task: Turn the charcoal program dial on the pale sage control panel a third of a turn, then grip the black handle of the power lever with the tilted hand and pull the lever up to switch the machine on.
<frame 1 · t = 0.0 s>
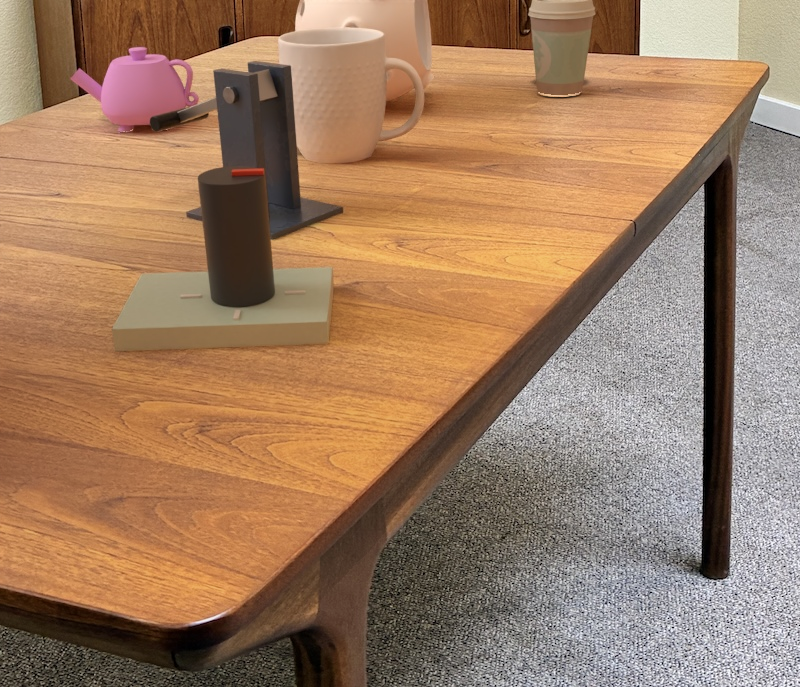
program knob: (237, 234, 74), point 7 cm above the table, hinge at 0.0°
power lever: (217, 102, 99), point 10 cm above the table, hinge at -20.0°
control panel: (232, 335, 77), on the table
teapot: (140, 127, 136), on the table
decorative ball: (368, 108, 141), on the table
coffee cup: (559, 94, 145), on the table
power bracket: (265, 221, 100), on the table
mug: (348, 161, 118), on the table
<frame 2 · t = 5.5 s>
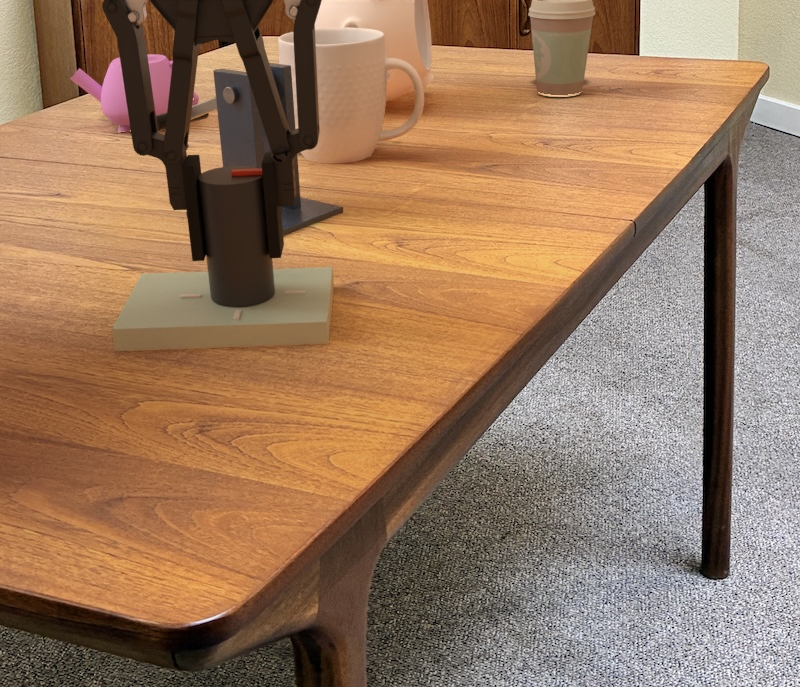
hand: (238, 251, 75), 6 cm above the table, tool pointing down, fingers closed on program knob, 4 cm apart
program knob: (237, 234, 74), point 7 cm above the table, hinge at 0.0°, touching gripper
everything else where it was.
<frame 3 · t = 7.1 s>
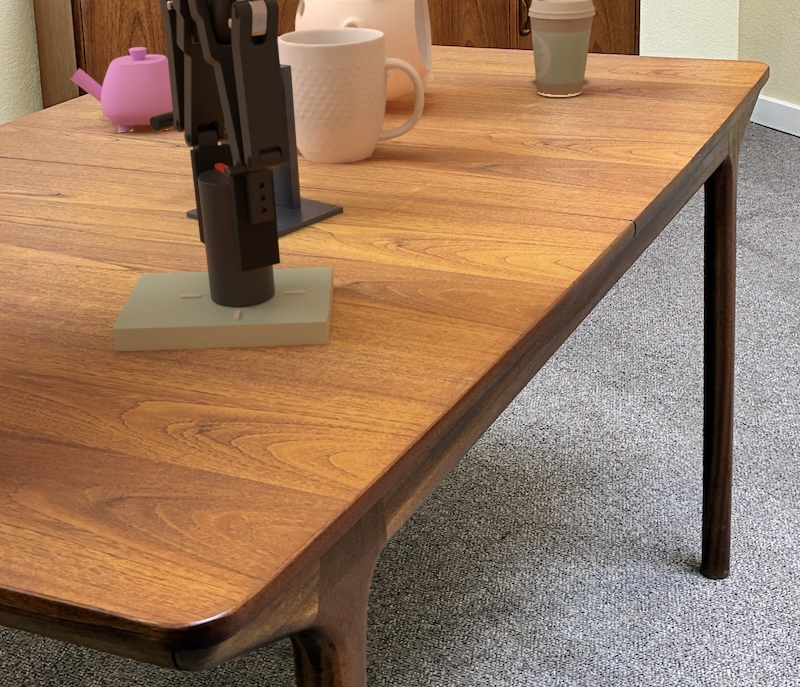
hand: (239, 251, 75), 6 cm above the table, tool pointing down, fingers open, 6 cm apart
program knob: (237, 234, 74), point 7 cm above the table, hinge at 120.1°
everything else where it was.
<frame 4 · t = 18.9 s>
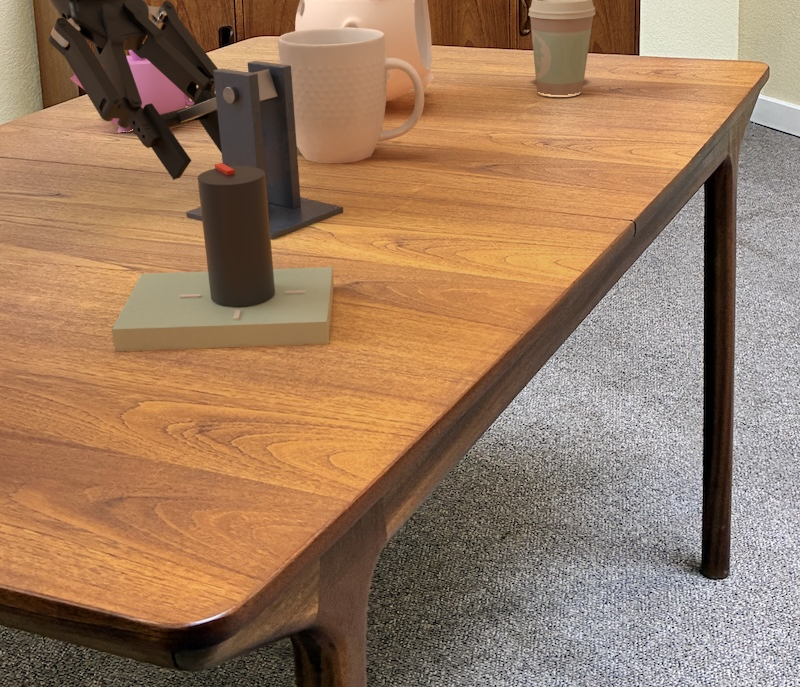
hand: (210, 161, 102), 5 cm above the table, tool tilted 45°, fingers closed on power lever, 6 cm apart
power lever: (217, 102, 99), point 10 cm above the table, hinge at -20.0°, touching gripper
everything else where it was.
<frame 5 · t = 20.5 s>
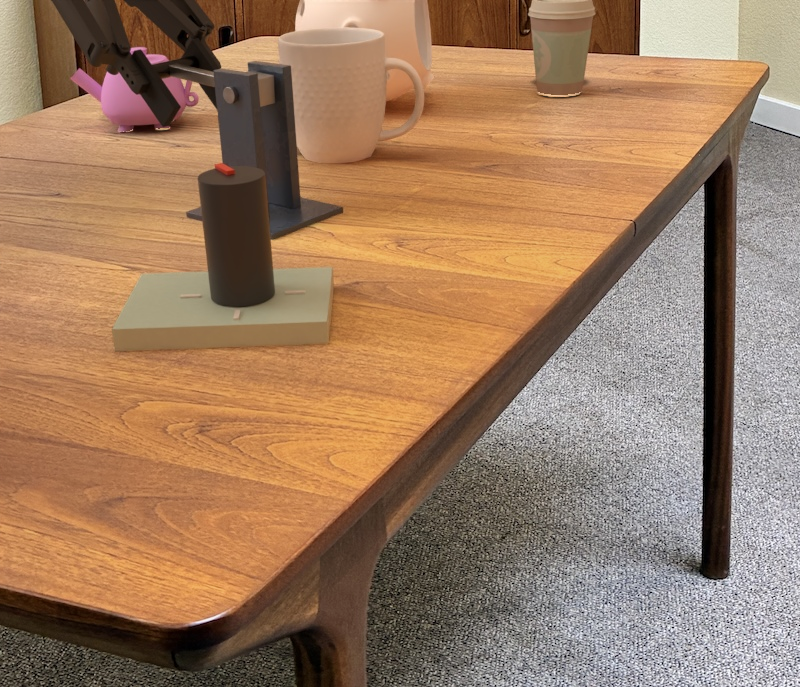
hand: (200, 109, 101), 9 cm above the table, tool tilted 45°, fingers closed on power lever, 6 cm apart
power lever: (213, 79, 98), point 12 cm above the table, hinge at 3.4°, touching gripper
everything else where it was.
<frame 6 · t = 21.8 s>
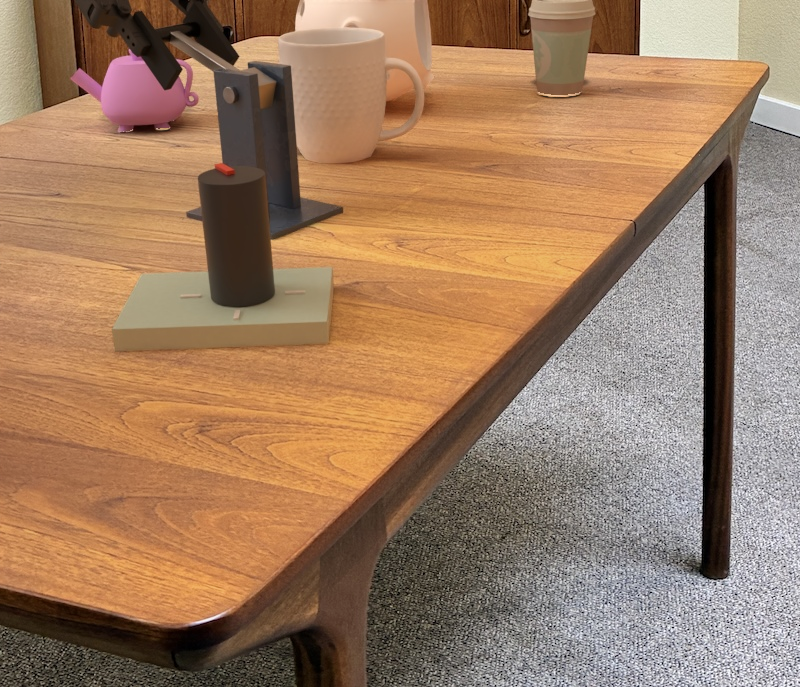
hand: (202, 72, 99), 13 cm above the table, tool tilted 45°, fingers closed on power lever, 6 cm apart
power lever: (213, 62, 97), point 14 cm above the table, hinge at 20.2°, touching gripper
everything else where it was.
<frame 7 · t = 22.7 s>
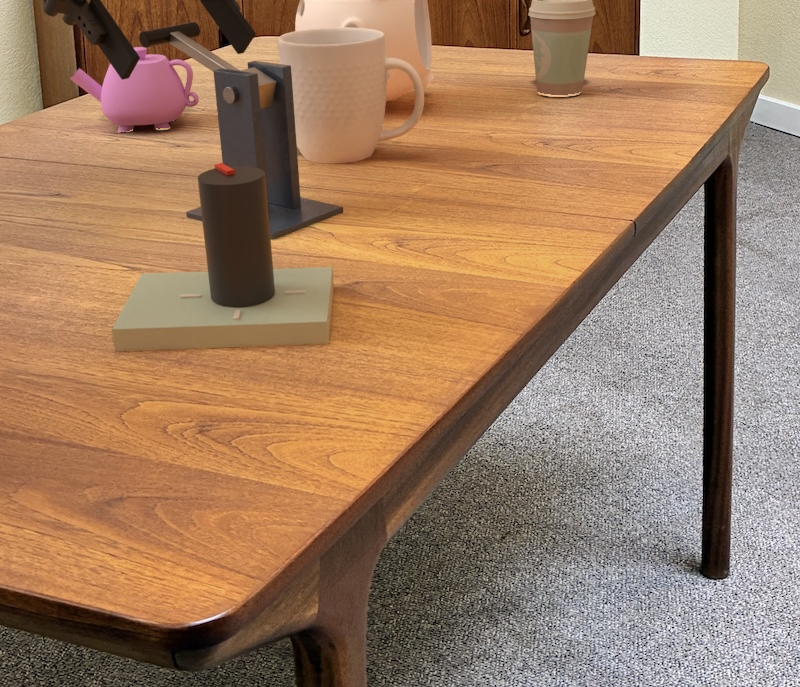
hand: (192, 56, 99), 14 cm above the table, tool tilted 45°, fingers open, 13 cm apart
power lever: (213, 62, 97), point 14 cm above the table, hinge at 20.0°
everything else where it was.
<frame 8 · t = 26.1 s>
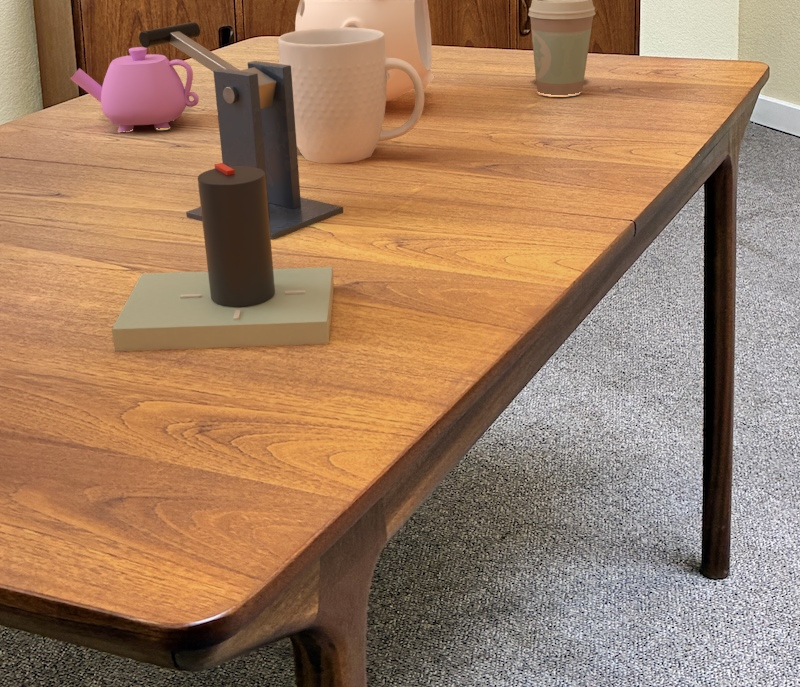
nothing on the table moved.
at the end: program knob at +120° (first picture: +0°); power lever at +20° (first picture: -20°) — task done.
